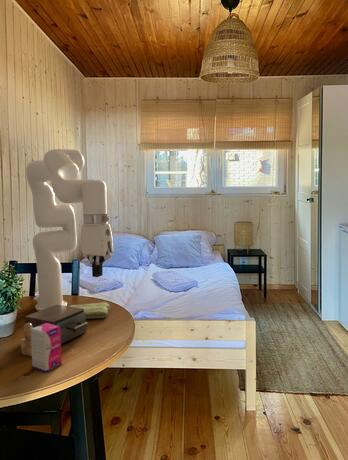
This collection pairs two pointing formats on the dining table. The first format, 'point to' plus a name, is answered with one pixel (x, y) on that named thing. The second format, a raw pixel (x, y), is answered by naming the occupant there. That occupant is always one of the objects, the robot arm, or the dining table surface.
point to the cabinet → (52, 315)
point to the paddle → (27, 340)
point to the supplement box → (46, 347)
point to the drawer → (72, 326)
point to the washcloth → (94, 310)
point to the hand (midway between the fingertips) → (97, 276)
